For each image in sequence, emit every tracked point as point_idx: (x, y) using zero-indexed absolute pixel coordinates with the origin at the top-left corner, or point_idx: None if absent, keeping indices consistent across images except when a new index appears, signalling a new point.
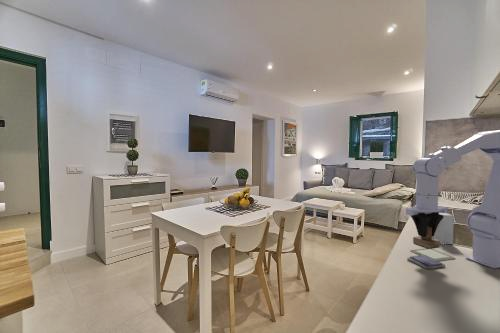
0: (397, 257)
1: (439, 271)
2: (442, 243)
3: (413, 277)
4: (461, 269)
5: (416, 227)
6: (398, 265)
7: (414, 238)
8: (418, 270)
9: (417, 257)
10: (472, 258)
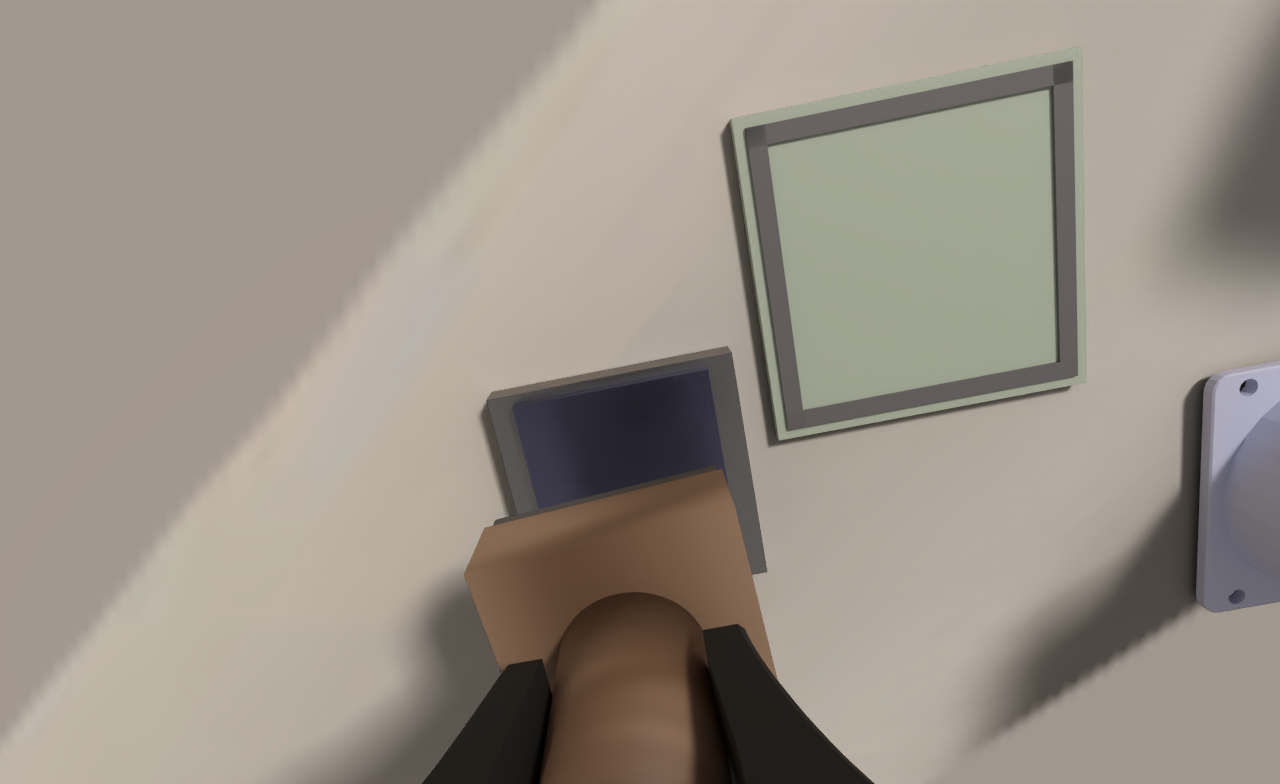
0: (419, 316)
1: None
2: None
3: (316, 714)
4: (875, 602)
5: (432, 779)
6: (311, 509)
7: (476, 585)
8: (447, 608)
9: (585, 435)
10: (1242, 427)
